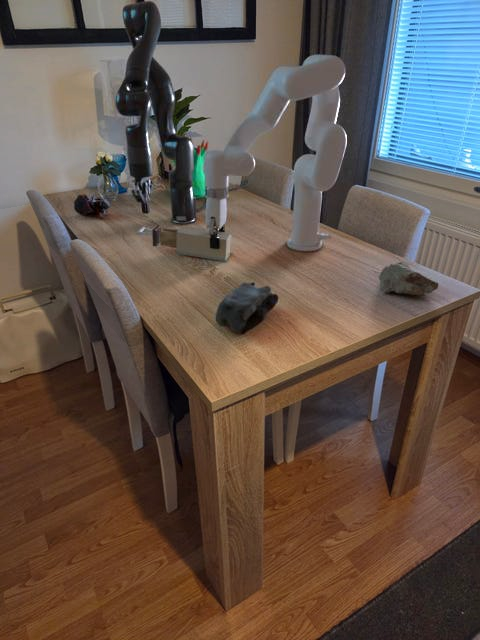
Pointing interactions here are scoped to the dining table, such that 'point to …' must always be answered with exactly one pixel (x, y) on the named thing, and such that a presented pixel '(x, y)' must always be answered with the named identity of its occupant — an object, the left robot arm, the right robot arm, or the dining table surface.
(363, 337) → the dining table surface
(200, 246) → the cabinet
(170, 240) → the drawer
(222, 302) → the rock
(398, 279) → the artifact
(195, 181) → the toy
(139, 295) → the dining table surface
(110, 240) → the dining table surface
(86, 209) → the toy
